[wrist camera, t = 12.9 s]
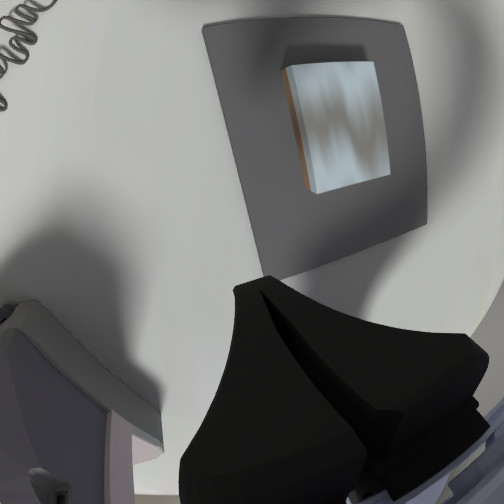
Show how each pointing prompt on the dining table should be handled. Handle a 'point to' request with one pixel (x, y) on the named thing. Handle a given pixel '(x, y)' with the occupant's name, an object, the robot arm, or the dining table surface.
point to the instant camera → (66, 417)
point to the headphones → (19, 37)
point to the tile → (337, 123)
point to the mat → (285, 147)
